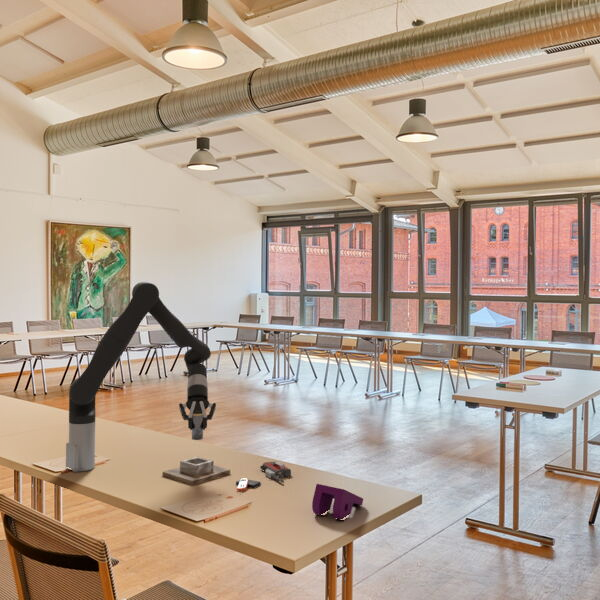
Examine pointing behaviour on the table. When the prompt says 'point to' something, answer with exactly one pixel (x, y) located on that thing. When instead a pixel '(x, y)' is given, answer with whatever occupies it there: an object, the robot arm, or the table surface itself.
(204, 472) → the dock board
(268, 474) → the walkie-talkie
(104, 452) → the table surface
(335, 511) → the mounting bracket
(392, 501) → the table surface
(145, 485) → the table surface
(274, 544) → the table surface
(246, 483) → the multimeter
